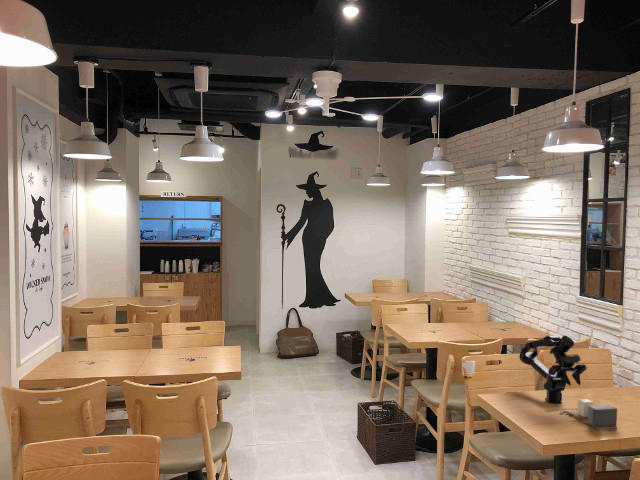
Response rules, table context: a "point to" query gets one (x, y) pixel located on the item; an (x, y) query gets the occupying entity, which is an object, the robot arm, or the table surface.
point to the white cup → (468, 367)
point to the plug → (584, 406)
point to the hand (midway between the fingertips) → (575, 385)
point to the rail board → (585, 420)
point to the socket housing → (602, 415)
